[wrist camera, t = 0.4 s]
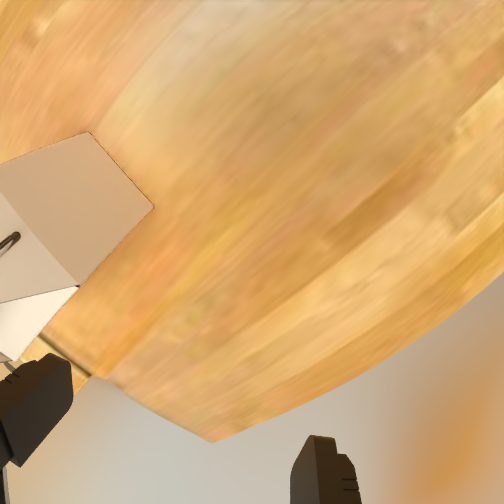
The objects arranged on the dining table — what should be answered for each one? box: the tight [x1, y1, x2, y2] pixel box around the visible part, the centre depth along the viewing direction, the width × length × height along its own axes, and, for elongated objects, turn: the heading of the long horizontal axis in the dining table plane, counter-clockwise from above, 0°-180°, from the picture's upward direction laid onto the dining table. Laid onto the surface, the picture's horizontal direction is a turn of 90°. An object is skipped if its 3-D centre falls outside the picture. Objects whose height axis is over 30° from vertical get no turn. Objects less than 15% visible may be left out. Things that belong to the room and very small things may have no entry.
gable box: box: [0, 132, 154, 363], centre depth 27 cm, size 22×13×28 cm, turn 130°
